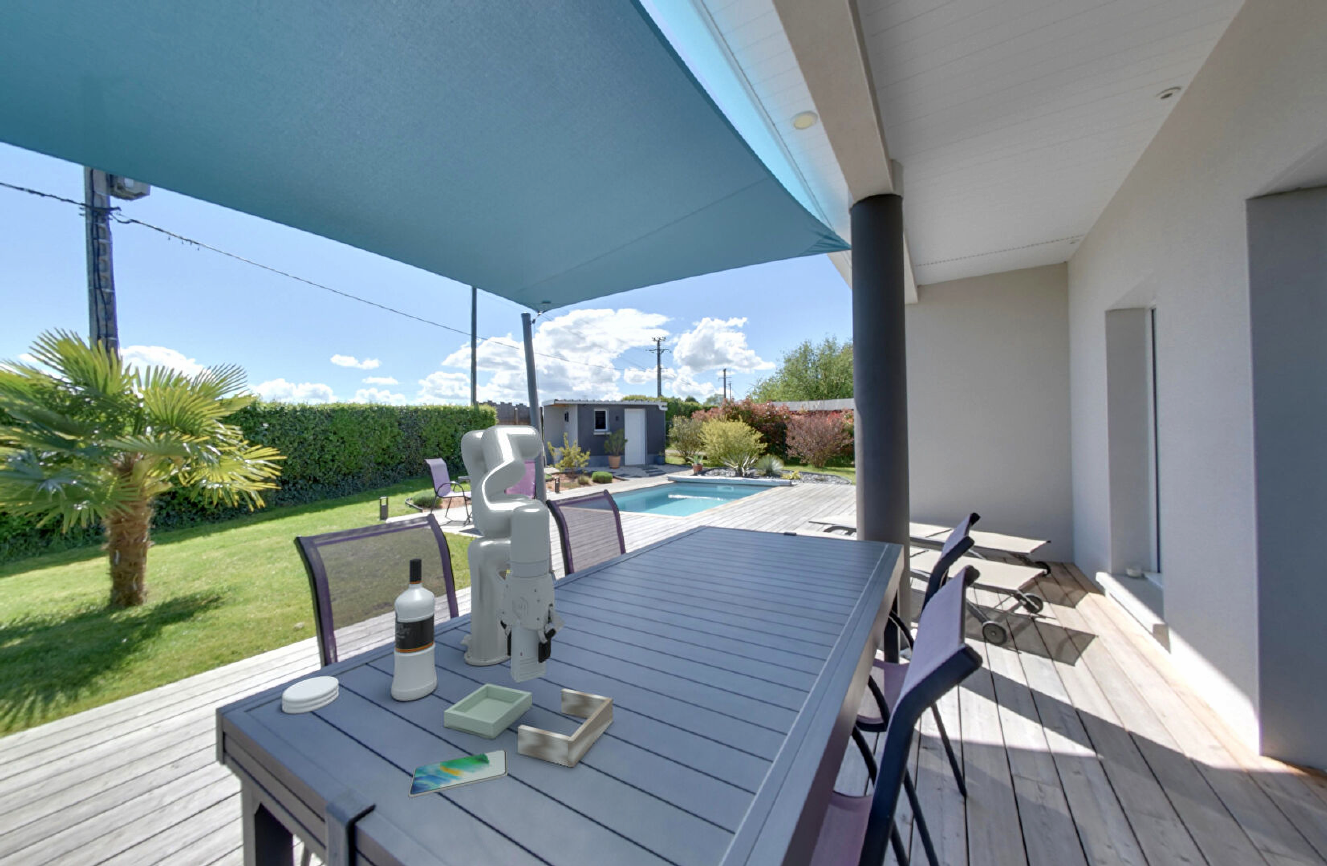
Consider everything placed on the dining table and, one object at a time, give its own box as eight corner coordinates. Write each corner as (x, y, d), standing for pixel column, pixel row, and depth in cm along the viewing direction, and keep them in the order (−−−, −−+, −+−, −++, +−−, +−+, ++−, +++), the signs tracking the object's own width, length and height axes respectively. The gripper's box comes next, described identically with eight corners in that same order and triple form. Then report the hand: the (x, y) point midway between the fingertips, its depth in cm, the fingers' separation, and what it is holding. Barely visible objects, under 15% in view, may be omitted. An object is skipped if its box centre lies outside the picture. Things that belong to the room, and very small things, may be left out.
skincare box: (516, 684, 92) (516, 621, 92) (509, 674, 96) (510, 614, 96) (547, 675, 96) (547, 614, 96) (539, 666, 99) (540, 608, 99)
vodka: (437, 697, 106) (437, 561, 107) (389, 706, 103) (390, 565, 103) (437, 678, 115) (438, 552, 116) (393, 687, 111) (394, 556, 112)
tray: (444, 726, 95) (444, 711, 95) (486, 697, 106) (486, 683, 106) (492, 739, 91) (492, 723, 91) (531, 707, 102) (531, 693, 102)
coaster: (349, 694, 108) (349, 679, 108) (303, 719, 99) (303, 701, 99) (317, 687, 111) (318, 672, 111) (270, 710, 102) (270, 693, 102)
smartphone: (507, 774, 81) (407, 796, 76) (507, 779, 81) (407, 801, 76) (506, 748, 87) (415, 766, 83) (506, 752, 87) (415, 771, 83)
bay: (517, 752, 87) (517, 727, 87) (563, 710, 101) (563, 688, 101) (572, 768, 83) (572, 741, 83) (612, 721, 97) (612, 698, 97)
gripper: (481, 567, 95) (481, 656, 96) (555, 578, 89) (554, 673, 89) (507, 558, 102) (506, 641, 103) (577, 567, 96) (576, 656, 96)
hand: (528, 655), depth 96 cm, fingers closed on skincare box, 6 cm apart
